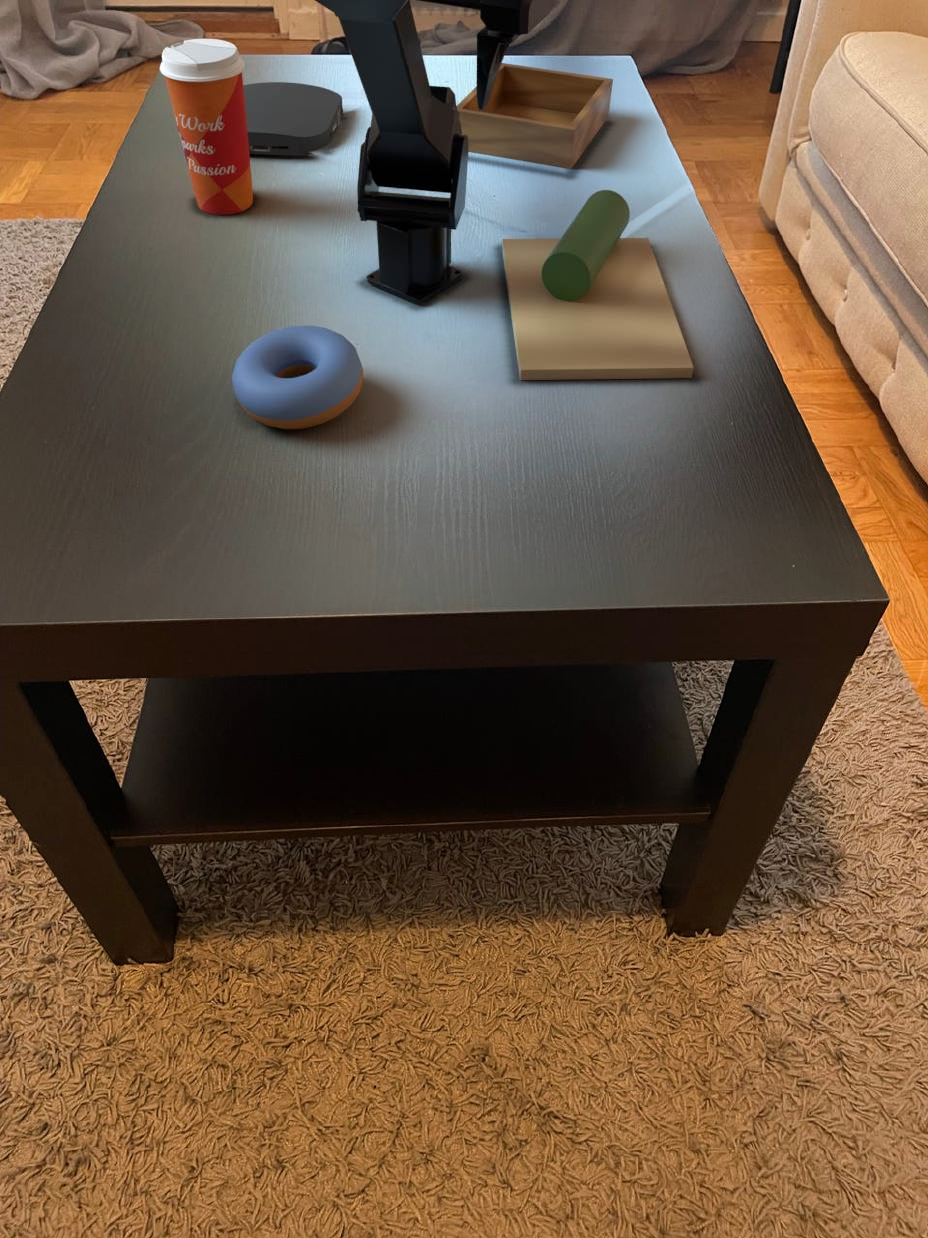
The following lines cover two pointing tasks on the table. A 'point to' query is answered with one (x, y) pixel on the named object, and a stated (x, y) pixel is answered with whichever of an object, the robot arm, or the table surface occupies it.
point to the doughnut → (304, 398)
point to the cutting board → (594, 318)
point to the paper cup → (211, 121)
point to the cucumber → (585, 245)
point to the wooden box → (537, 115)
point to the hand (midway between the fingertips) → (434, 99)
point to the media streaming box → (290, 117)
